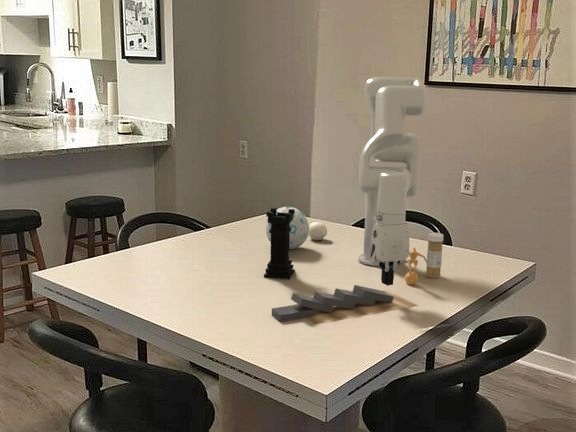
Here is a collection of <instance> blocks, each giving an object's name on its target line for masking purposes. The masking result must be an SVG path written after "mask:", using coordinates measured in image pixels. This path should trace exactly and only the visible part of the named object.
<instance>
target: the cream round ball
mask: <svg viewBox="0 0 576 432" xmlns="http://www.w3.org/2000/svg"><path fill="white" fill-rule="evenodd" d="M326 236H328V228H327V226H326V225H325V224H324V223H323V222H320V221H313V222H311V223H310V224H309V233H308V237H309V238H310V239H312V240H314V241H321V240H323V239H324V238H325V237H326Z"/></svg>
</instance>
